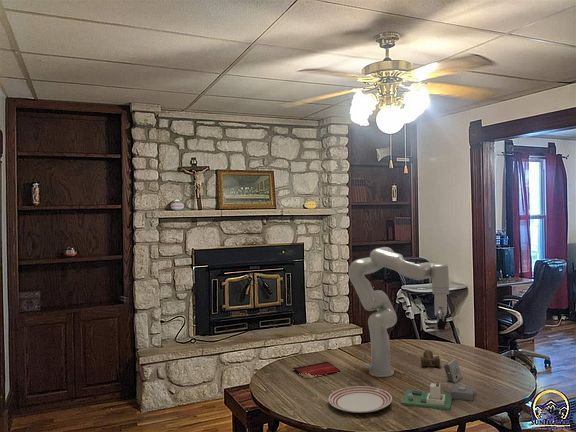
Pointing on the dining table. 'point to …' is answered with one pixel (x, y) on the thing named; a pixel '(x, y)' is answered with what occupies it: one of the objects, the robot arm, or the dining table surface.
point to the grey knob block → (462, 392)
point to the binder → (318, 369)
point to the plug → (435, 391)
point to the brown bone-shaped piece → (430, 359)
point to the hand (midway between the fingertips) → (442, 327)
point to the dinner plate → (360, 399)
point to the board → (426, 399)
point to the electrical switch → (453, 371)
